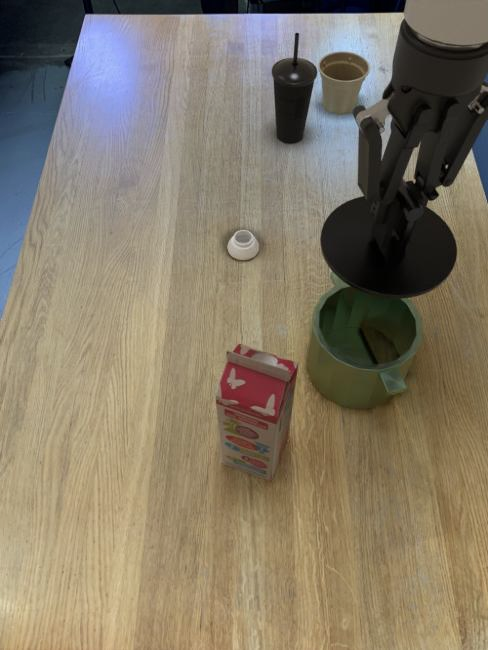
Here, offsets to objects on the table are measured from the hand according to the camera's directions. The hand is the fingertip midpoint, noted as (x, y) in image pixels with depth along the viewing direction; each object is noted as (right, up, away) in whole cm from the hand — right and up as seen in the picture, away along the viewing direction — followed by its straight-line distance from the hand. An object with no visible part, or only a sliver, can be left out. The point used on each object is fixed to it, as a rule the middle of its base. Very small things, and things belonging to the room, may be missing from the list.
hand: (390, 236), depth 65 cm
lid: (0, -1, +1) cm, 1 cm away
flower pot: (+2, +33, +52) cm, 61 cm away
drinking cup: (-7, +25, +47) cm, 54 cm away
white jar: (-16, +2, +31) cm, 35 cm away
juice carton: (-14, -26, +12) cm, 32 cm away
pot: (0, -15, +19) cm, 24 cm away
